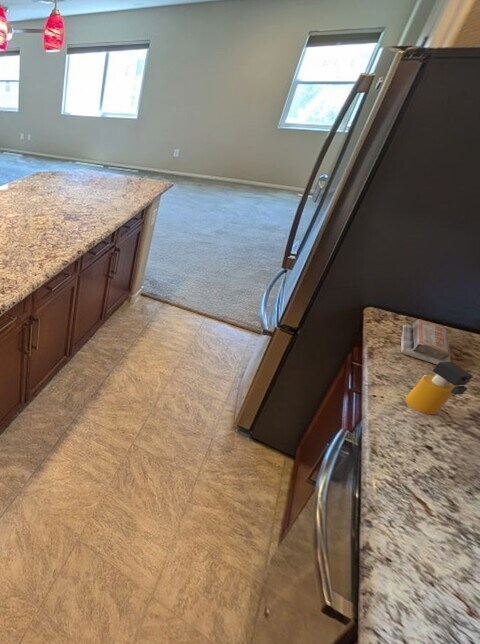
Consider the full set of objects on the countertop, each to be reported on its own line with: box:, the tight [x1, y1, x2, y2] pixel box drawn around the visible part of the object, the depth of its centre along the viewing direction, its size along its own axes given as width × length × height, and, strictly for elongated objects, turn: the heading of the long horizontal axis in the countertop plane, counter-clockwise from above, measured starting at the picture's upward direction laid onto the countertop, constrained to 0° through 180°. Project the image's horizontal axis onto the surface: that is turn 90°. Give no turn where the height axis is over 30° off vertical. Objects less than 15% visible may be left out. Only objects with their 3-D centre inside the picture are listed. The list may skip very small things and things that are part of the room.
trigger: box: [451, 385, 468, 395], centre depth 91 cm, size 1×2×2 cm, turn 92°
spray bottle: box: [405, 361, 474, 415], centre depth 94 cm, size 6×6×14 cm
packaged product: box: [400, 319, 452, 365], centre depth 115 cm, size 18×5×10 cm
